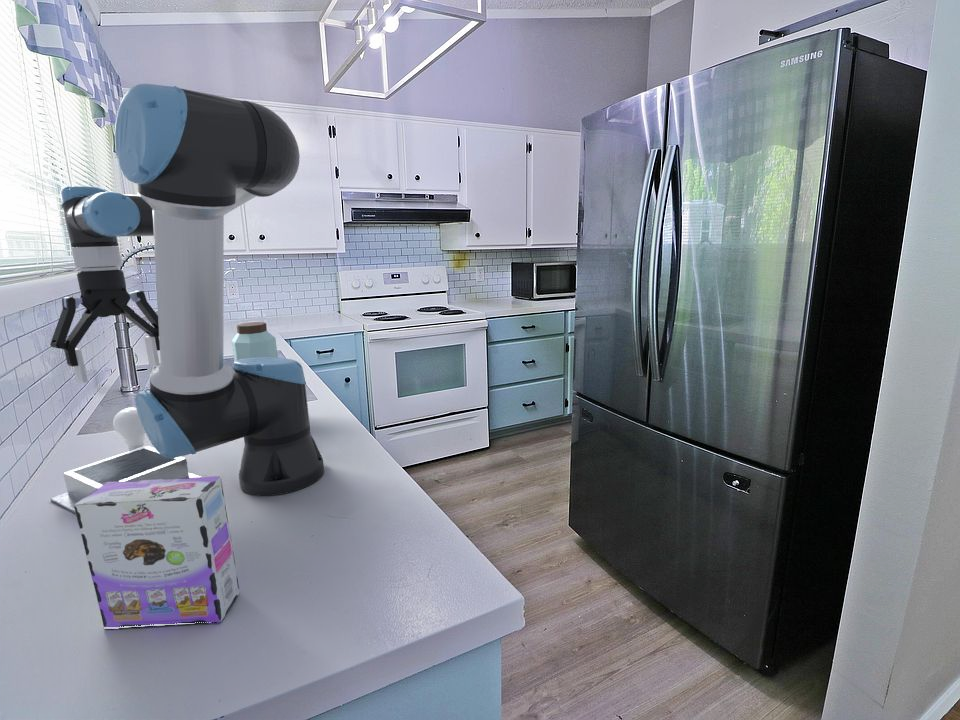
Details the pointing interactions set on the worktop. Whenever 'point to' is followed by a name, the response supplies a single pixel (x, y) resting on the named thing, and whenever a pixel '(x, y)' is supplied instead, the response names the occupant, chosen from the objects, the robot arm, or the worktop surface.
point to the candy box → (159, 551)
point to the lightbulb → (130, 427)
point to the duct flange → (120, 473)
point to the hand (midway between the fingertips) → (120, 373)
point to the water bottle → (253, 341)
